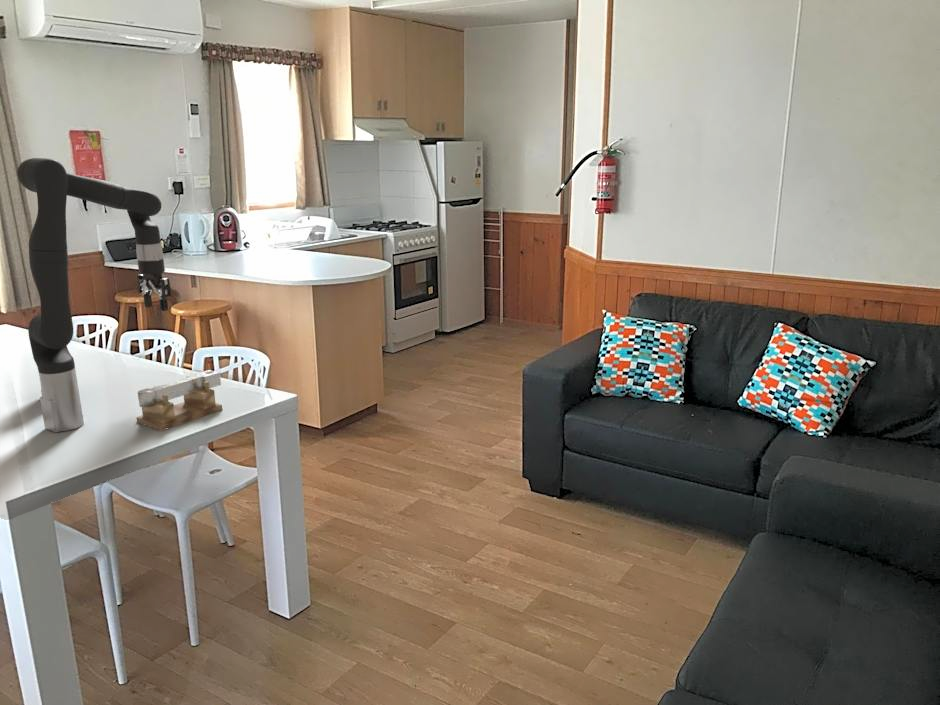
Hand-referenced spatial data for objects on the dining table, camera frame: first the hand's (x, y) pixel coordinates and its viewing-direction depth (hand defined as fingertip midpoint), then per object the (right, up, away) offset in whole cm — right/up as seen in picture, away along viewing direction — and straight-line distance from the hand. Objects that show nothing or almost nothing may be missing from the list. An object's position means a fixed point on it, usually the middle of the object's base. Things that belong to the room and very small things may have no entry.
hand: (156, 308), depth 238 cm
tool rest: (+12, -33, -12) cm, 37 cm away
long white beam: (+12, -27, -14) cm, 32 cm away
